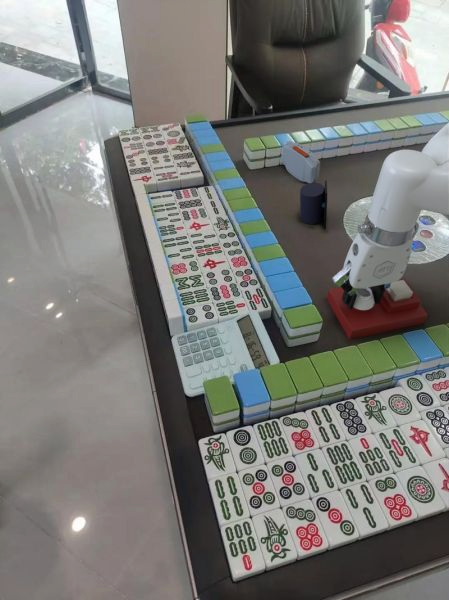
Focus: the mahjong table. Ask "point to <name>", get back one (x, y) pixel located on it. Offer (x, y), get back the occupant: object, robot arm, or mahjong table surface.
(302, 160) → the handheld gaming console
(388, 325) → the red rectangular stepped block
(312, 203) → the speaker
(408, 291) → the white square block
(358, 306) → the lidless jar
